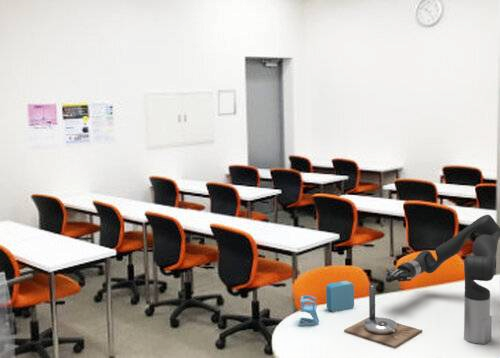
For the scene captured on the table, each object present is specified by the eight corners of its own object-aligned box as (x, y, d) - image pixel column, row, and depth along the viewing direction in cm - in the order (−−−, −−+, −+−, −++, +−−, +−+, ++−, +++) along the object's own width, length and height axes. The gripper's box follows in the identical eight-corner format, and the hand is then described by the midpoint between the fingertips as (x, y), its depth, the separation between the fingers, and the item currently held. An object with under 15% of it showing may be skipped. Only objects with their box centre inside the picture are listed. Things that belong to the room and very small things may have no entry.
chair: (318, 327, 246) (317, 299, 244) (298, 326, 247) (297, 299, 246) (319, 320, 253) (319, 293, 251) (300, 319, 255) (299, 293, 253)
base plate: (422, 332, 236) (422, 329, 236) (395, 348, 222) (395, 345, 222) (372, 317, 253) (371, 315, 253) (344, 332, 239) (344, 329, 239)
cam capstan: (408, 333, 232) (408, 294, 230) (380, 339, 228) (380, 300, 225) (383, 318, 248) (383, 282, 245) (357, 324, 243) (357, 287, 241)
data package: (349, 305, 269) (348, 280, 268) (354, 308, 265) (354, 282, 264) (326, 309, 265) (325, 284, 263) (331, 312, 261) (330, 287, 259)
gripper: (422, 281, 259) (400, 291, 247) (396, 275, 269) (374, 285, 257) (422, 265, 258) (400, 274, 246) (396, 259, 267) (374, 268, 256)
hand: (387, 280), depth 251 cm, fingers closed
